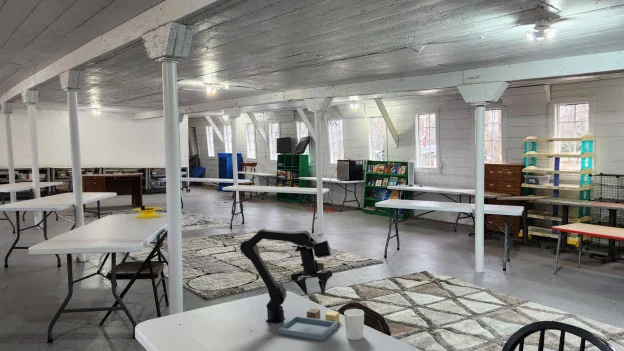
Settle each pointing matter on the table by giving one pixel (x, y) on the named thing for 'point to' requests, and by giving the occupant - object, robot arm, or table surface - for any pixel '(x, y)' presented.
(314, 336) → the slate tray
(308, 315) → the walnut block
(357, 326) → the white cup
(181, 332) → the table surface
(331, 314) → the ochre block
